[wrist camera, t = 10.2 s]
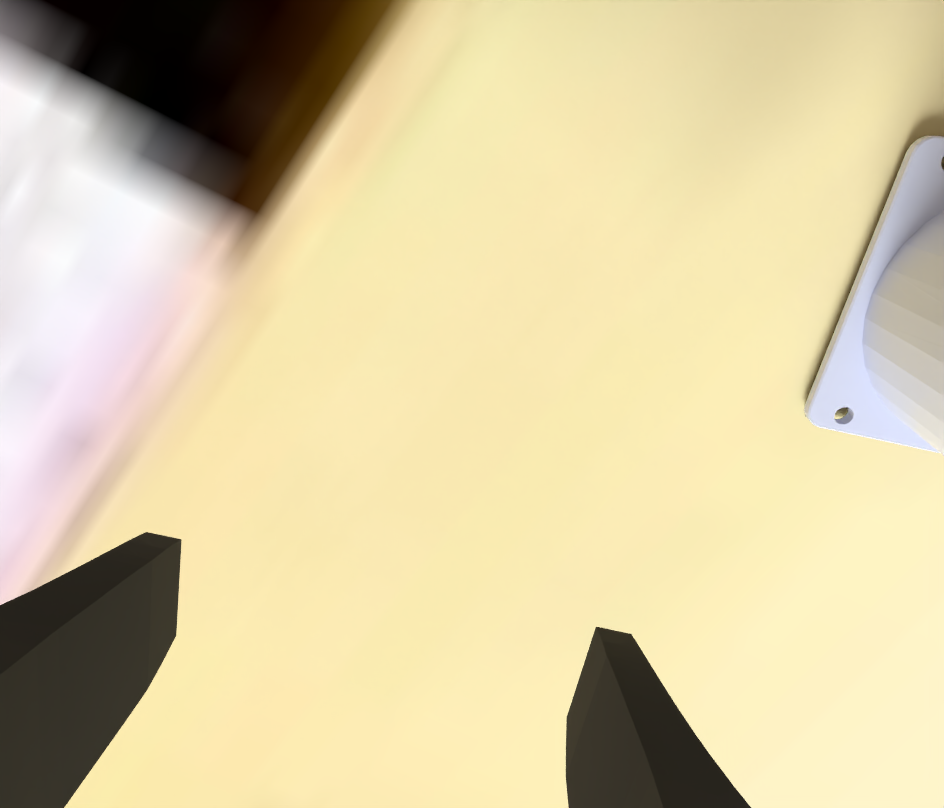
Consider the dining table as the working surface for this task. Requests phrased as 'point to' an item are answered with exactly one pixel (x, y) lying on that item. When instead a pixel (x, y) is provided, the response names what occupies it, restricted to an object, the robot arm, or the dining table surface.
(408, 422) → the dining table surface
